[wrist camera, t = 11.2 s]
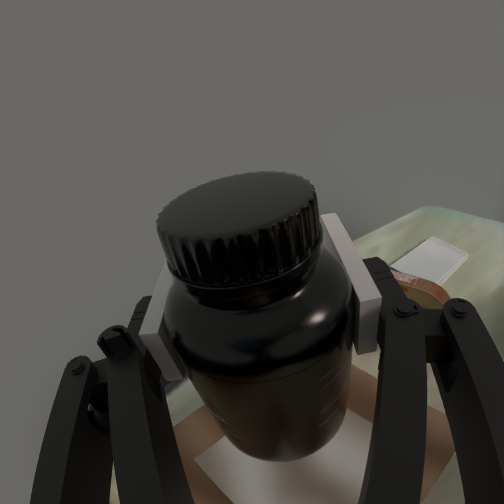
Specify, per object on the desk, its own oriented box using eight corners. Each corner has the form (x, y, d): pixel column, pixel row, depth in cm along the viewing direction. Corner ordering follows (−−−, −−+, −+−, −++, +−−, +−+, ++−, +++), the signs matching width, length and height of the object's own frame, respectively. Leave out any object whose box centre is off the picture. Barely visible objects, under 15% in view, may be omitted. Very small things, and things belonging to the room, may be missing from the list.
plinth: (300, 361, 34) (296, 331, 32) (450, 448, 20) (469, 425, 17) (158, 470, 25) (134, 451, 22) (297, 611, 10) (292, 621, 8)
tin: (333, 319, 39) (330, 265, 35) (345, 304, 41) (344, 251, 36) (440, 360, 29) (457, 306, 25) (448, 342, 31) (464, 287, 26)
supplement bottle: (200, 442, 14) (77, 251, 8) (252, 353, 19) (198, 166, 13) (326, 481, 11) (317, 277, 5) (360, 372, 16) (362, 157, 10)
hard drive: (430, 289, 37) (469, 252, 41) (388, 265, 44) (430, 234, 48) (429, 298, 38) (467, 260, 42) (387, 274, 45) (430, 242, 49)
